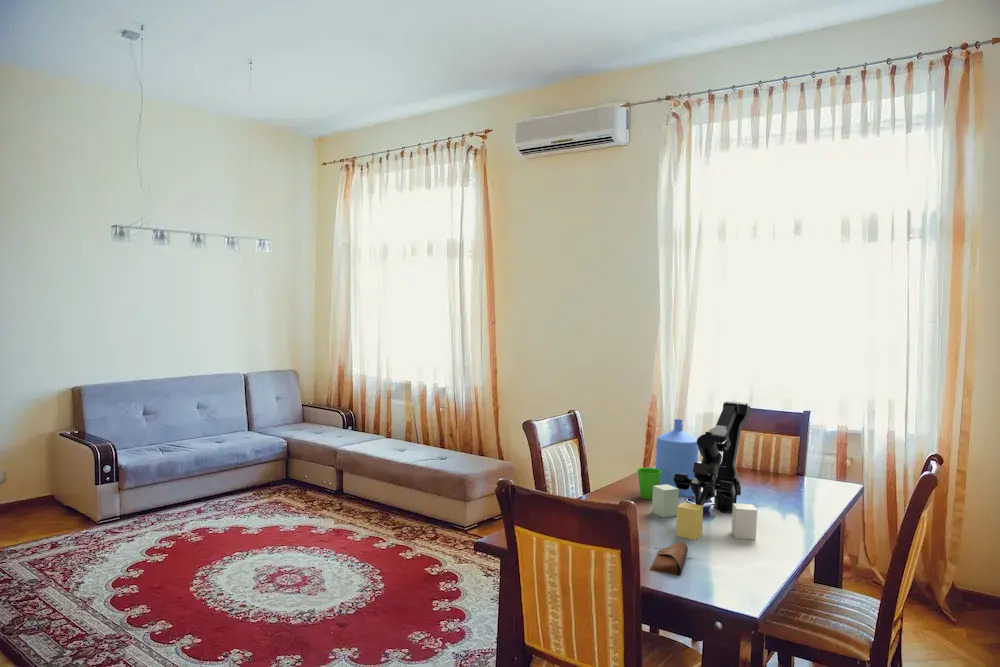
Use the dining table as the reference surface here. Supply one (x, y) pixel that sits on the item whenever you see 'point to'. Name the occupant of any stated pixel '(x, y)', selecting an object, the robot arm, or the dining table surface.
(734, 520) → the cream block
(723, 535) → the dining table surface
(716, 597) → the dining table surface
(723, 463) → the robot arm
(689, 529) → the mustard block
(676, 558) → the sunglasses case
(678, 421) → the water jug
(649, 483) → the cup
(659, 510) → the sage block
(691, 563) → the dining table surface
